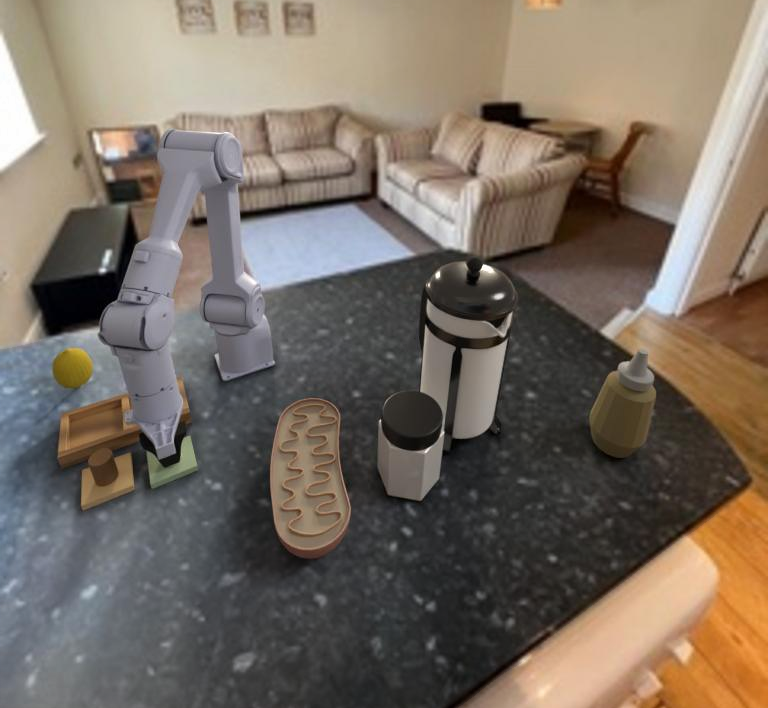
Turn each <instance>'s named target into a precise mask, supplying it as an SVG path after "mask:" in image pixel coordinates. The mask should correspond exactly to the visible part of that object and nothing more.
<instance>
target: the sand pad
mask: <svg viewBox="0 0 768 708" xmlns="http://www.w3.org/2000/svg"><path fill="white" fill-rule="evenodd" d="M87 464H88V467H86V468H83V469H82V470H81V490H80V491H81V492H80V493H81V495H80V507H81V509H82V511H86V510H89V509H91V508H94V507H97V506H99V505H101V504H104V503H105V502H108V501H111V500H113V499H116V498H118V497H121V496H123V495H126V494H128V493H130V492H133V491H135V488H136V487H135V479H134V478H135V476H134V468H133V467H134V465H133V455H132V453H131V452H127V453H123V454H122V455H119V456H116V457H114V453H113V451H111V450H110V449H107V448H104V449H100V450H98V451H96V452H94V453H93V454H92V455H91V456H90V457H89V459H88V460H87Z"/></svg>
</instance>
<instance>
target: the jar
mask: <svg viewBox="0 0 768 708" xmlns="http://www.w3.org/2000/svg"><path fill="white" fill-rule="evenodd" d="M380 413H381V414H380V419H379V420H378V426H377V427H378V428H377V429H378V430H377V432H378V433H377V464H376V465H377V466H376V467H377V470H378V473H379V475H380V478H381V481H382V483H383V486H384V488H385V491H386V494H387V495H388V496H391V497H397V498H403V499H408V500H412V501H419V502H421V501H423V499H424V498H425V496H426V495H427V494H428V493H429V492H430V491H431V489H432V488H433V487H434V486H435V484H436V483H437V482H438V481H439V480H440V475H441V467H442V457H443V452H442V450H443V441H444V430H443V429H442V420H443V413H442V409H441V407H440V405H439V404H438V403H437V402H436V400H435V399H433V398H432V397H431V396H429V395H427V394H425V393H422V392H419V390H412V389H411V390H402V391H398V392H395V393H393V394H392V395H390V396H389V397H388V398H386V400H385V401H384V403H383V405H382V407H381V412H380Z"/></svg>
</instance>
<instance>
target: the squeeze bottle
mask: <svg viewBox="0 0 768 708" xmlns="http://www.w3.org/2000/svg"><path fill="white" fill-rule="evenodd" d="M648 360H649V351H648V350H646V349H644V348H639V349H637V351H636V352H635V354H634V356H633V357H632V358H631V360H630V361H629V360H627V361H622V362H620V363H619V364H618V366H617V369H616V370H614V371H611V372H610V373H608V375H607V376H606V378H605V381H604V382H603V385H602V387H601V389H600V391H599V393H598V395H597V397H596V399H595V402H594V403H593V406H592V408H591V410H590V412H589V418H588V419H589V420H588V421H589V427H590V434H591V438H592V441H593V443H594V445H595V446H596V447H597V448H598V449H599V450H600V451H602V452H603V453H604V454H606V455H608V456H611V457H613V458H619V459H624V458H628V457H630V456H631V455H632V454H634V453H635V452H636V451H637V450H638V449H640V448H641V447H642V446H643V445H644V444H645V443H646V442H647V439H648V435H649V432H650V431H649V430H650V426H651V421H652V417H653V413H654V407H655V403H656V399H657V390H656V389H655V387H654V385H653V384H654V381H655V375H654V373H653V372H652V370H650V369H649V368H648V362H649V361H648Z"/></svg>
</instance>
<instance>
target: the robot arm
mask: <svg viewBox="0 0 768 708" xmlns="http://www.w3.org/2000/svg"><path fill="white" fill-rule="evenodd" d="M243 156H244V155H243V147H242V144H241V142H240V141H239V139H238V138H237V137H236V136H235V135H234V134H233V133H232V132H229V131H227V132H226V131H223V132H211V131H196V130H182V129H181V130H180V129H177V128H169V129H166V131H164V132H163V134H162V136H161V138H160V140H159V144H158V152H157V153H156V159H157V164H158V167H159V170H160V171H161V173H162V177H161V182H160V184H159V185H160V186H159V189H158V194H157V199H156V202H155V206H154V207H155V208H154V211H153V215H152V220H151V224H150V229H149V234H148V237H147V238H145V239H143V240H141V241H139V242H137V243H136V244H135V246H134V248H133V251H132V254H131V257H130V260H129V263H128V266H127V270H126V272H125V275H124V278H123V281H122V284H121V287H120V290H119V293H118V295H117V299H116V300H115V301H112V302H111V303H109V304H108V305H107V306H106V307H105V308H104V309H103V311H102V313H101V315H100V319H99V324H98V325H99V326H98V327H99V331H98V333H97V338H98V340H99V341H100V342H101V343H102V344H103V345H105V346H108V347H109V348H110V351H111V353H112V356H115V357H116V358H117V360H118V363H119V366H120V369H121V372H122V377H123V380H124V383H125V387H126V390H127V393H128V394H129V398H130V401H131V405H132V408H133V409H132V410H129V411H127V412H125V414H124V418H125V423H126V425H131V424H137V425H138V426H139V428H140V429H141V430H142V431H143V433H140V434H139V439H140V441H139V445H140V447H141V449H142V450H143V451H146V452H147V451H149V452H151V453H152V454H153V455H155V457H156V458H157V459H158V461H159V462H160V463H161V465H162V466H163V467H164V468H166V467H169V466H171V465H174V464H176V463H179V462H180V458H181V445H182V441H183V439H184V438H185V437H186V436H187V433H188V426H187V425H188V424H186V421H182V422H179V419H180V416H181V412H182V409H183V398H182V396H181V394H180V392H179V388H178V383H177V379H176V378H177V374H176V371H175V370H176V369H175V366H174V362H173V356H172V352H171V348H170V343H169V340H170V337H171V335H172V332H173V330H174V327H175V321H176V319H175V317H176V316H175V315H176V314H175V304H176V302H175V301H176V300H175V299H174V298H172V297H173V293H174V290H175V287H176V283H177V279H178V276H179V273H180V270H181V266H182V262H183V259H184V255H183V252H182V250H181V248H180V247H179V241H180V239H181V236H182V234H183V231H184V229H185V226H186V225H187V222H188V219H189V217H190V214H191V212H192V209H193V206H194V204H195V202H196V199H197V196H198V194H199V193H200V192H204V200H205V201H204V202H205V211H206V223H207V232H208V243H209V250H210V253H209V254H210V263H211V273H212V276H211V277H210V278H209V279H207V280H206V281H205V282H204V283H203V284H202V286H201V288H200V291H201V293H200V294H201V295H200V302H199V314H200V317H201V319H202V321H203V322H205V323H209V328H210V329H213V330H214V335H215V342H216V347H217V353H215V354H214V355H213V356H214V360H215V362H216V365H217V368H218V371H219V374H220V377H221V379H222V382H227V381H232V380H235V379H237V378H240V377H243V376H247V375H249V374H252V373H256V372H258V371H261V370H264V369H267V368H270V367H273V366H275V365H276V361H275V360H274V351H273V349H274V348H273V340H272V333H271V328H270V324H269V321H268V319H267V316H266V315H265V307H266V303H265V298H264V296H263V293H262V287H261V283H260V282H259V281H258V280H256V279H255V278H253V277H252V276H251V275H249V274H248V273H246V271H245V265H244V253H243V238H242V225H241V212H240V201H239V200H240V198H239V197H240V196H239V184H240V183H243V182H244V180H245V179H244V178H245V177H244V174H245V173H244V171H245V170H244V157H243ZM178 422H179V423H178Z"/></svg>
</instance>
